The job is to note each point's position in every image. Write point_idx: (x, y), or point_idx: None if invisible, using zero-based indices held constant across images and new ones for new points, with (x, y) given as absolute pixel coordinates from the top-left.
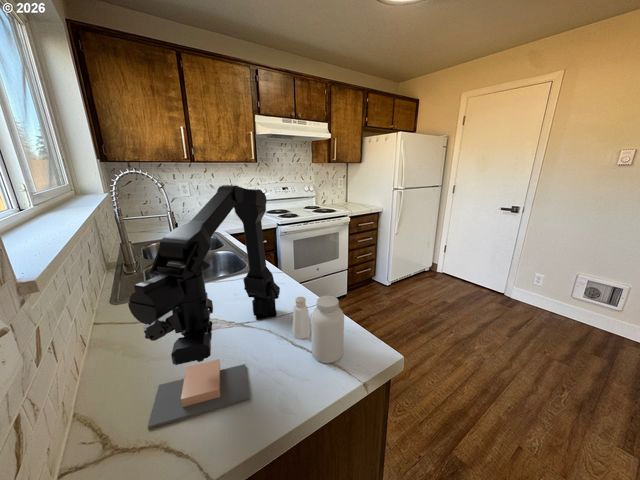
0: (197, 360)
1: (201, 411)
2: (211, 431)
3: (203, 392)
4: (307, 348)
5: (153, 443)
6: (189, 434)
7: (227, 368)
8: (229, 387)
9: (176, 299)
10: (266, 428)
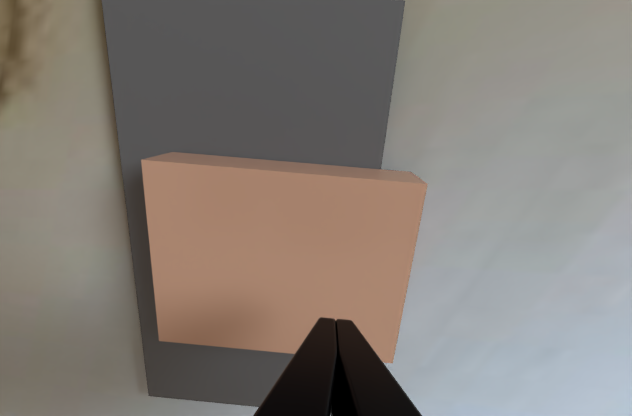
0: (312, 329)
1: (130, 232)
2: (48, 256)
3: (156, 274)
4: None
5: (29, 26)
6: (49, 179)
7: None
8: None
9: None
10: (31, 404)
